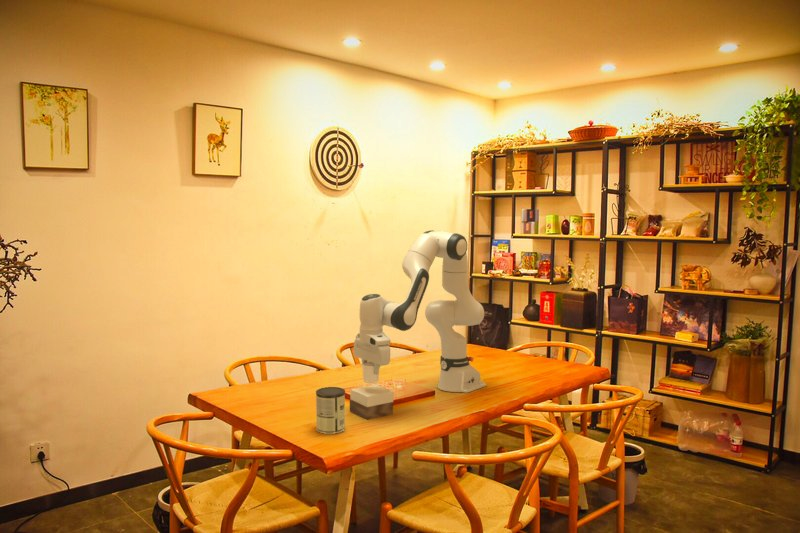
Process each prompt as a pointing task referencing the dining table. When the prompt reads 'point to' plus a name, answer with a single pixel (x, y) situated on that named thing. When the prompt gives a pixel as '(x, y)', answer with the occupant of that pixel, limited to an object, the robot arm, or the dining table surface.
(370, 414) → the walnut base block
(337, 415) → the coffee can
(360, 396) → the cream top block
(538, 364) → the dining table surface
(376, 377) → the white cylinder
